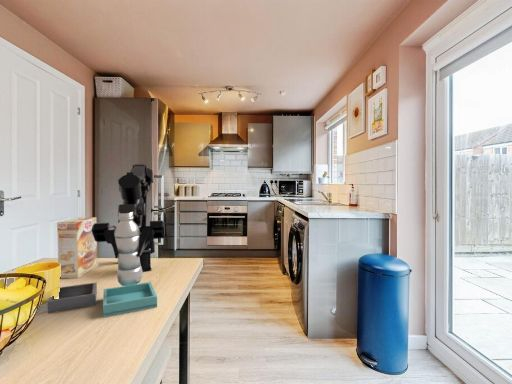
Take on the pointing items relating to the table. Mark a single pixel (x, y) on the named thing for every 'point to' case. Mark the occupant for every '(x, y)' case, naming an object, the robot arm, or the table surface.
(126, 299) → the tray
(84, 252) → the coffeecake box
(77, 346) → the table surface
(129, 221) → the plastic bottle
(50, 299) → the open frame
